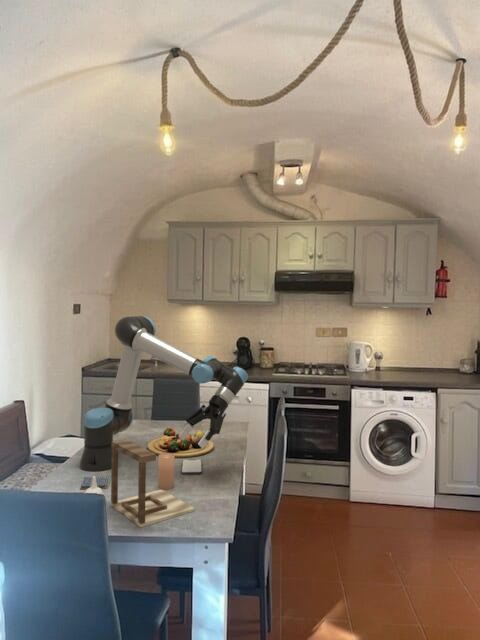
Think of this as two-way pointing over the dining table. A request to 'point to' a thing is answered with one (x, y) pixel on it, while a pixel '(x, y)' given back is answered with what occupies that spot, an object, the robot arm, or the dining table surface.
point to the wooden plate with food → (180, 445)
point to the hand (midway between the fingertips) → (190, 442)
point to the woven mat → (101, 482)
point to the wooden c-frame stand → (143, 490)
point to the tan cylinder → (166, 471)
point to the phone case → (191, 467)
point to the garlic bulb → (94, 487)
